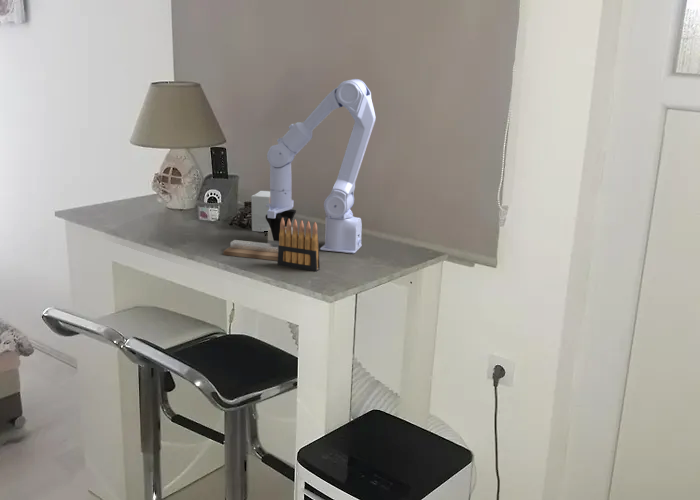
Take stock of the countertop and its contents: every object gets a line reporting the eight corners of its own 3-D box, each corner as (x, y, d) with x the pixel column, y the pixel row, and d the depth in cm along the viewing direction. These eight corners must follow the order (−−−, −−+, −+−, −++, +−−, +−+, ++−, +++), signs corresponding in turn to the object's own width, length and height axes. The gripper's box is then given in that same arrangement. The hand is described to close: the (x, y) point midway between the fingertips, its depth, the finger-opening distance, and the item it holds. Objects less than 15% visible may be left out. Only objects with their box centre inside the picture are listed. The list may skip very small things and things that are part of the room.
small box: (270, 232, 199) (269, 196, 196) (251, 231, 200) (250, 195, 197) (278, 226, 207) (278, 191, 204) (260, 224, 208) (259, 190, 205)
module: (294, 242, 190) (294, 226, 189) (288, 246, 186) (288, 230, 185) (273, 240, 192) (273, 224, 191) (267, 244, 188) (267, 228, 187)
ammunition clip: (277, 265, 171) (277, 217, 167) (281, 263, 172) (280, 216, 169) (316, 271, 167) (316, 223, 163) (319, 269, 168) (320, 221, 165)
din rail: (299, 252, 178) (299, 246, 178) (295, 254, 176) (295, 249, 175) (234, 245, 183) (234, 239, 182) (230, 247, 180) (230, 242, 180)
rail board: (305, 252, 181) (305, 248, 181) (293, 262, 173) (293, 258, 173) (238, 245, 186) (238, 241, 186) (223, 254, 178) (223, 251, 177)
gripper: (276, 183, 193) (277, 230, 196) (256, 193, 179) (256, 243, 183) (300, 185, 191) (300, 232, 195) (281, 195, 177) (282, 246, 181)
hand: (281, 238), depth 189 cm, fingers closed on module, 4 cm apart
